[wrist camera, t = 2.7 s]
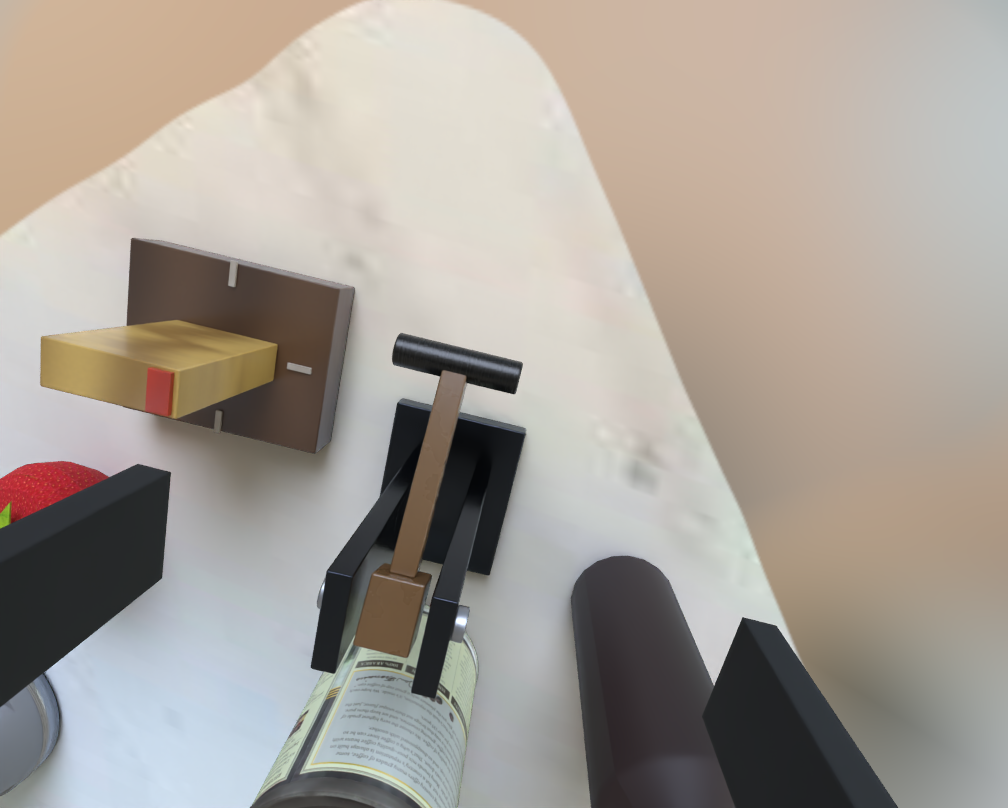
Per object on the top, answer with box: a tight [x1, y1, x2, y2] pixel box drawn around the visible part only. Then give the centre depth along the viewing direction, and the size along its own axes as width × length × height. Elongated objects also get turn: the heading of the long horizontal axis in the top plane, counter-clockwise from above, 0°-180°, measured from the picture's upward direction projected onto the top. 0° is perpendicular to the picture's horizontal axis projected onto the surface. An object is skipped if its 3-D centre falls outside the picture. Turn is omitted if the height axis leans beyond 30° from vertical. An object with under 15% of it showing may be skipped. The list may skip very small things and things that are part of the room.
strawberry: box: [0, 461, 109, 528], centre depth 31 cm, size 6×8×10 cm
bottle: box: [571, 556, 735, 808], centre depth 26 cm, size 7×7×20 cm
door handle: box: [353, 333, 523, 658], centre depth 22 cm, size 13×6×2 cm, turn 166°
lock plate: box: [123, 238, 355, 454], centre depth 31 cm, size 12×10×3 cm
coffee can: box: [250, 605, 478, 808], centre depth 31 cm, size 10×10×14 cm
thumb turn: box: [40, 320, 278, 419], centre depth 26 cm, size 6×2×9 cm, turn 77°
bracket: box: [311, 398, 526, 699], centre depth 27 cm, size 10×8×15 cm
